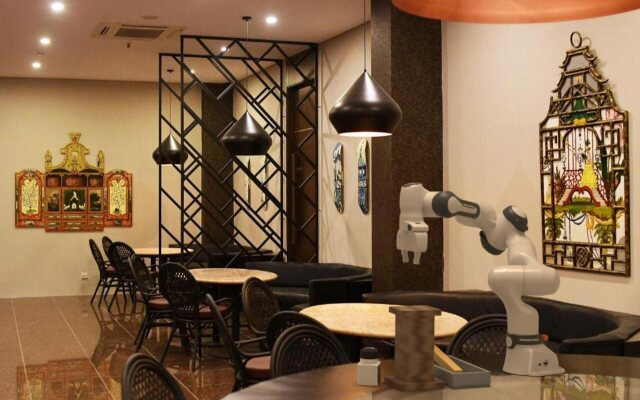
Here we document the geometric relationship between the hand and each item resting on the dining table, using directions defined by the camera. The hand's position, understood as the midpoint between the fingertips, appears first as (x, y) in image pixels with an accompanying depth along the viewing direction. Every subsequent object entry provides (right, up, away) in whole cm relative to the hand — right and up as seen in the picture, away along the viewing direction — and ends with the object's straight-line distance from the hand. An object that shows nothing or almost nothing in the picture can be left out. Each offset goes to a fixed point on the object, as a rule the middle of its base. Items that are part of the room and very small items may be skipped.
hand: (410, 263), depth 301 cm
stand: (-2, -39, -28) cm, 48 cm away
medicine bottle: (-17, -39, -26) cm, 50 cm away
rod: (+10, -36, -10) cm, 39 cm away
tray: (+12, -39, -17) cm, 44 cm away
